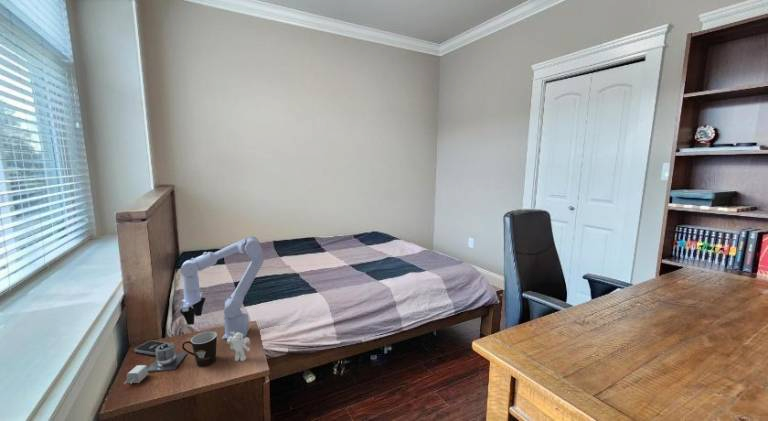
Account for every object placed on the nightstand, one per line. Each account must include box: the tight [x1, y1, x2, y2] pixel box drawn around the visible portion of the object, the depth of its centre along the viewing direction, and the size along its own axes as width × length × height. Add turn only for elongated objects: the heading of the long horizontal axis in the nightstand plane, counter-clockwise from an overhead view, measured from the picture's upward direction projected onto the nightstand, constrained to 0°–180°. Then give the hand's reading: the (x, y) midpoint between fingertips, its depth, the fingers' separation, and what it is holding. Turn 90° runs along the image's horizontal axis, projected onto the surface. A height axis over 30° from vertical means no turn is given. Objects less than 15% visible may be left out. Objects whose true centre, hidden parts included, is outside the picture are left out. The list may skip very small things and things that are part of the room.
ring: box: [155, 342, 176, 361], centre depth 122 cm, size 6×6×4 cm
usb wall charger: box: [123, 364, 149, 385], centre depth 112 cm, size 4×7×4 cm, turn 1°
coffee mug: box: [181, 331, 218, 368], centre depth 123 cm, size 12×9×10 cm
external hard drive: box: [134, 340, 166, 358], centre depth 131 cm, size 7×11×2 cm, turn 76°
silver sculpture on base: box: [147, 348, 188, 373], centre depth 122 cm, size 10×10×6 cm
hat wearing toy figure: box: [226, 331, 251, 362], centre depth 124 cm, size 9×4×12 cm, turn 81°
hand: (194, 319), depth 135 cm, fingers open, 7 cm apart
